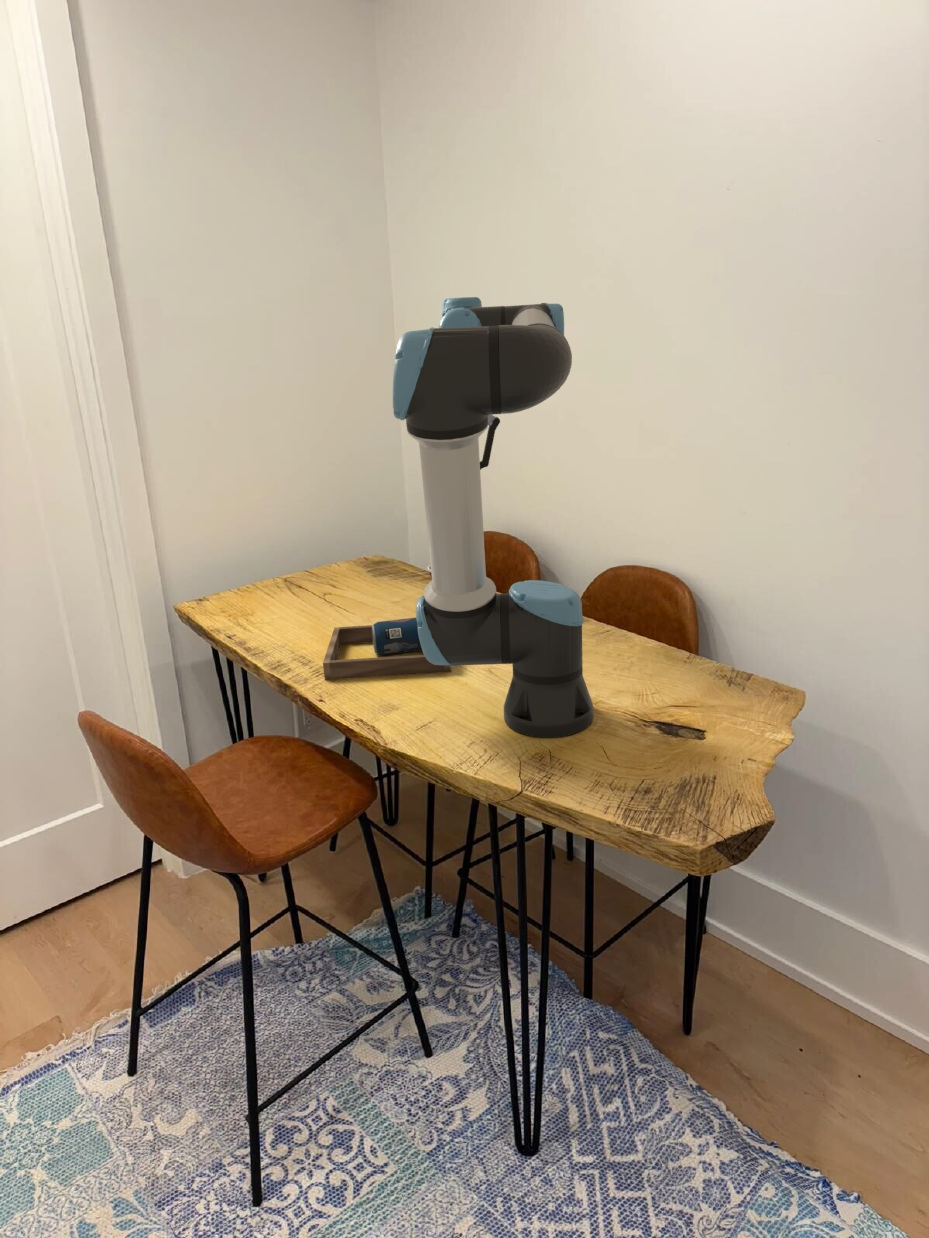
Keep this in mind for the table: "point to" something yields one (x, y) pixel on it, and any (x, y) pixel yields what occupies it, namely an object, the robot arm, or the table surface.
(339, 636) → the walnut tray frame
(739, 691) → the table surface
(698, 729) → the table surface
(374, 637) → the soda can
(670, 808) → the table surface
